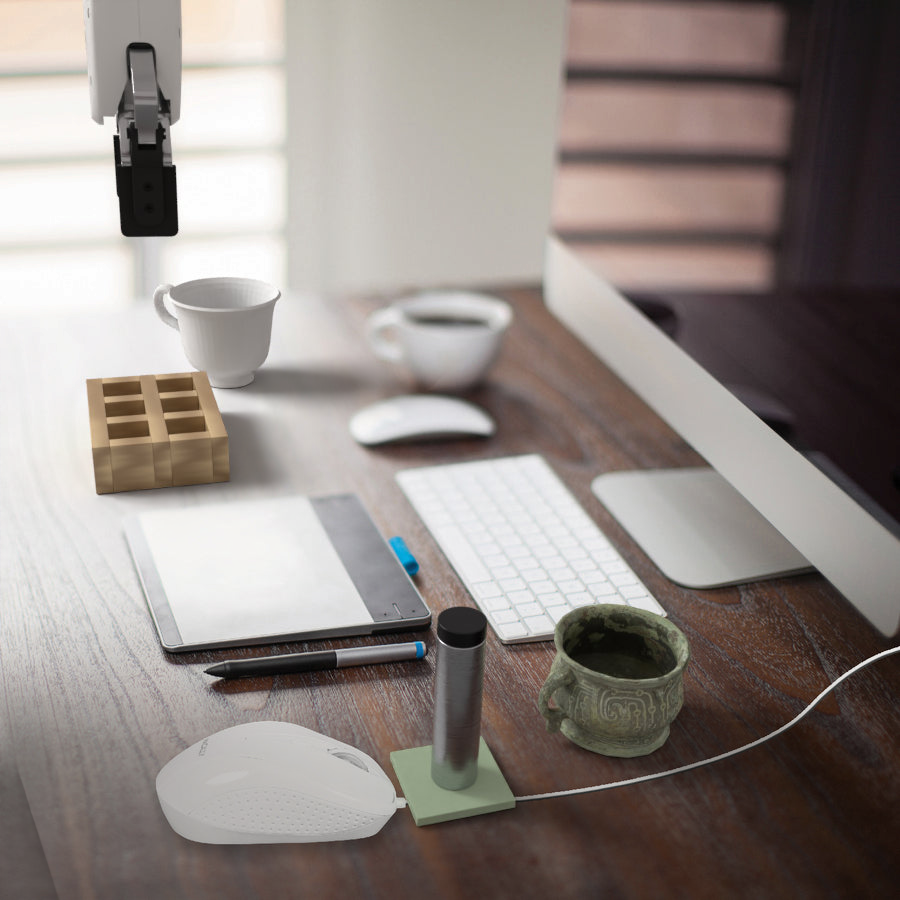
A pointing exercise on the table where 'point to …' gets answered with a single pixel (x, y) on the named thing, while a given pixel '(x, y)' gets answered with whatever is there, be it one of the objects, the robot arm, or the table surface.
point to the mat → (449, 804)
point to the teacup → (222, 325)
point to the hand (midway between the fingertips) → (146, 215)
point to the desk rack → (156, 432)
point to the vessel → (615, 679)
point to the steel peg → (458, 697)
